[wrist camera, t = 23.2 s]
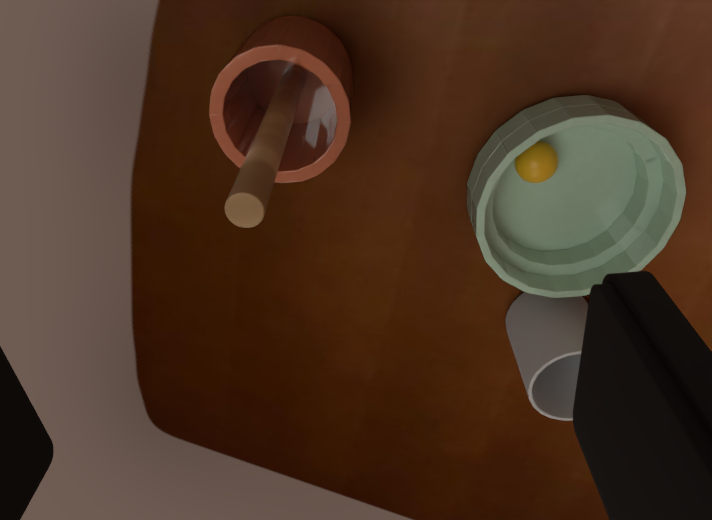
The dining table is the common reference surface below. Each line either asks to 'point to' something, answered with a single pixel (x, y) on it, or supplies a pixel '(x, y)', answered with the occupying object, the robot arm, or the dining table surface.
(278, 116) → the stirring stick
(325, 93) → the utensil pot
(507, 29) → the dining table surface
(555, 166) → the ball
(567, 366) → the cup
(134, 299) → the dining table surface
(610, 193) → the bowl
